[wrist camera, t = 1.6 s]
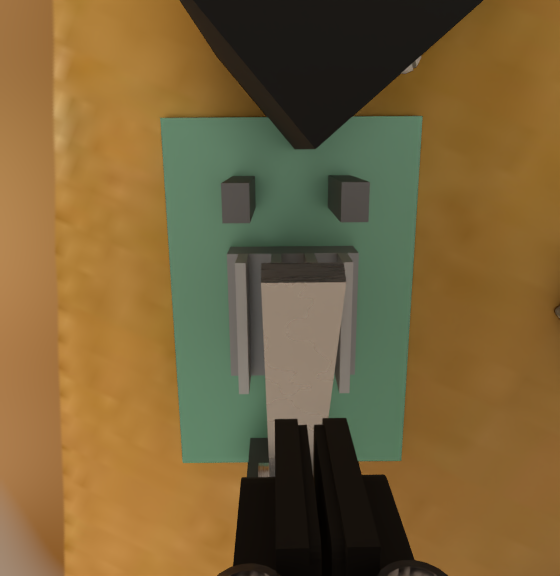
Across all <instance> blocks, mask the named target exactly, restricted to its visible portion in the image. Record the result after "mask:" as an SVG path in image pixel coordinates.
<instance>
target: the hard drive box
mask: <svg viewBox="0 0 560 576" xmlns="http://www.w3.org/2000/svg"><path fill="white" fill-rule="evenodd" d="M555 313H556V315H557V316H558V317H559V318H560V306H559V307H557V308H556V309H555Z"/></svg>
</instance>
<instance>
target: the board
mask: <svg viewBox="0 0 560 576" xmlns="http://www.w3.org/2000/svg"><path fill="white" fill-rule="evenodd" d="M422 117H423V116H359V117H351V118H350V119H349V120H348V121H347V122H346V123H345V124H343V125H342V126H341V127H340V128H339V129H338V130H337V131H336V132H334V133H333V134H332V135H331V136H330V137H329V138H328V139H327V140H325V141H324V142H323V143H322V144H321V145H320V146H319V147H318V148H316V149H294V148H293V147H292V145H291V144H290V143H289V142H288V141H287V139H286V138H285V137H284V136H283V135H282V133H281V132H280V131H279V130H278V129H277V127H276V126H275V125H274V124H273V123H272V121H271V120H270V119H269V118H268V117H225V118H160V120H161V135H162V151H163V166H164V182H165V197H166V212H167V228H168V243H169V259H170V274H171V289H172V305H173V320H174V336H175V351H176V366H177V382H178V397H179V413H180V428H181V443H182V459H183V463H222V462H248V470H247V477H258V463H269V451H268V429H267V406H266V384H265V362H264V339H263V317H262V295H261V263H329V262H344V268H345V276H346V289H345V296H344V304H343V312H342V319H341V327H340V334H339V342H338V349H337V357H336V364H335V372H334V379H333V387H332V394H331V402H330V410H329V417H328V418H346V419H347V422H348V426H349V430H350V433H351V437H352V441H353V445H354V448H355V452H356V456H357V460H358V461H401V456H402V440H403V424H404V407H405V391H406V375H407V359H408V343H409V327H410V310H411V294H412V278H413V262H414V246H415V230H416V214H417V197H418V181H419V165H420V149H421V133H422Z"/></svg>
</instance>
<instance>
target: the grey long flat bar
mask: <svg viewBox="0 0 560 576" xmlns="http://www.w3.org/2000/svg"><path fill="white" fill-rule="evenodd" d="M345 289H346V276H345V268H344V262H329V263H261V295H262V317H263V339H264V362H265V384H266V406H267V429H268V451H269V463H258V477H275V419H298V425H307V430H308V438H309V446H310V454H311V463H312V471H313V444H314V425H317V424H322V419H323V418H328V417H329V410H330V402H331V394H332V387H333V379H334V372H335V364H336V357H337V349H338V342H339V334H340V327H341V319H342V312H343V304H344V296H345Z"/></svg>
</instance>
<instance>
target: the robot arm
mask: <svg viewBox="0 0 560 576" xmlns="http://www.w3.org/2000/svg"><path fill="white" fill-rule="evenodd" d="M217 576H448V575H446V574H445V573H444V572H443V571H441V570H440V569H439V568H436V567H434V566H432V565H430V564H428V563H425V562H420V561H416V560H414V557H413V554H412V551H411V548H410V545H409V542H408V539H407V536H406V533H405V530H404V528H403V525H402V522H401V519H400V516H399V513H398V510H397V507H396V504H395V501H394V498H393V495H392V492H391V489H390V486H389V483H388V480H387V478H386V476H385V475H361V471H360V467H359V463H358V460H357V456H356V452H355V448H354V445H353V441H352V437H351V433H350V430H349V426H348V422H347V419H346V418H323V419H322V424H317V425H314V444H313V471H312V463H311V454H310V446H309V438H308V430H307V425H298V419H275V477H242V479H241V487H240V498H239V508H238V519H237V530H236V541H235V552H234V562H233V567H230V568H228V569H226V570H225V571H223V572H221V573H219V574H218V575H217Z"/></svg>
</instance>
